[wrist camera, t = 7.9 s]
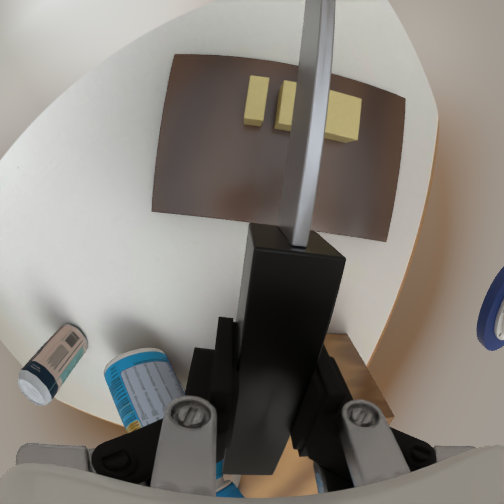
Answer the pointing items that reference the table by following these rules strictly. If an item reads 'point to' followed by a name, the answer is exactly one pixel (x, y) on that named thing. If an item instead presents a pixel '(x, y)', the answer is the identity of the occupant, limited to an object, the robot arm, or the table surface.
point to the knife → (287, 275)
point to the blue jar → (150, 396)
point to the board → (270, 150)
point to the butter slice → (256, 100)
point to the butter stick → (338, 115)
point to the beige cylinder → (52, 365)
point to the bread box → (290, 464)
